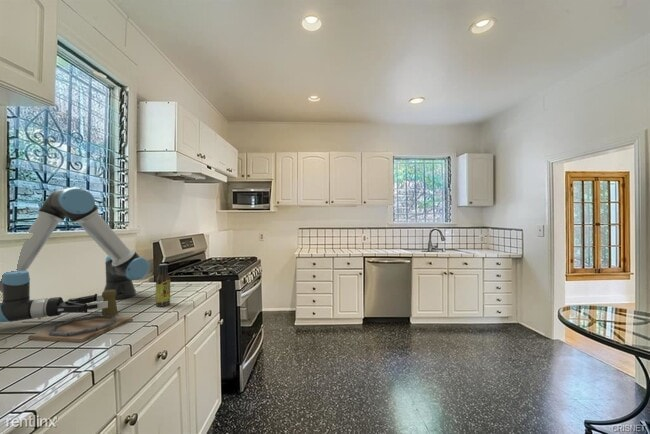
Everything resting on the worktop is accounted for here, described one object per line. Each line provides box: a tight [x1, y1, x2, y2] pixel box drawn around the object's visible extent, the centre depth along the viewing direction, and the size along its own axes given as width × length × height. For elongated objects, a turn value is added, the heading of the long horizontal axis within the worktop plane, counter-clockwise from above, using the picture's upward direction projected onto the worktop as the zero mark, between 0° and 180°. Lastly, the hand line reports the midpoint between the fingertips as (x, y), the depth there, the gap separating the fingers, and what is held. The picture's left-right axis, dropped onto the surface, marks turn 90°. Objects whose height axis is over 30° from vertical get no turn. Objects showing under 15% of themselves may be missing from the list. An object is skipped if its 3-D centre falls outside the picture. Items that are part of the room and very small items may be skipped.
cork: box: [100, 290, 119, 316], centre depth 131 cm, size 6×6×11 cm
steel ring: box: [49, 314, 116, 336], centre depth 114 cm, size 19×19×1 cm
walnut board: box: [27, 314, 133, 343], centre depth 114 cm, size 22×22×1 cm
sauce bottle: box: [155, 263, 171, 307], centre depth 145 cm, size 6×6×20 cm
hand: (111, 300), depth 131 cm, fingers open, 13 cm apart
